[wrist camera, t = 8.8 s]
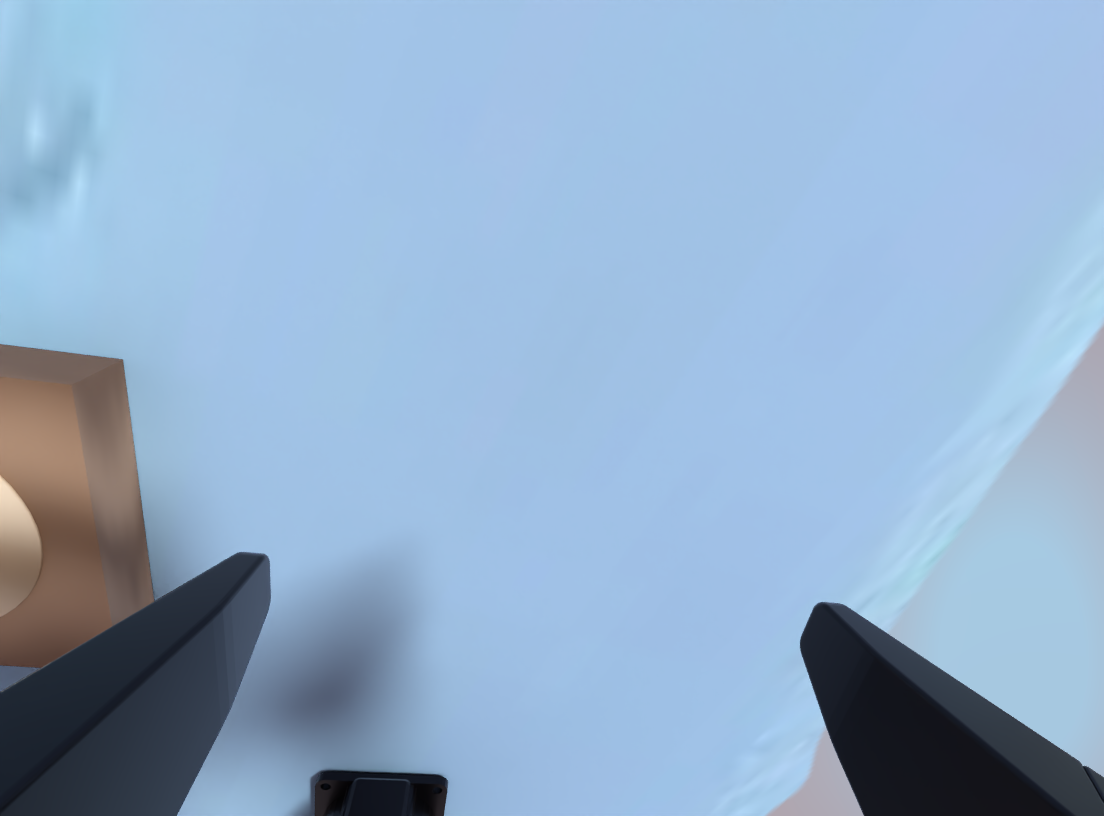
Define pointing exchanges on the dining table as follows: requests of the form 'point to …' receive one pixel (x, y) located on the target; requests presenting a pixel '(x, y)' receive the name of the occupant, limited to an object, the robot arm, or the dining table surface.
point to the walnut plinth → (66, 504)
